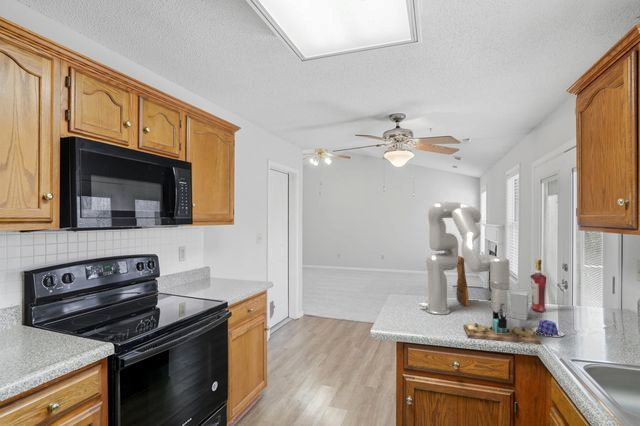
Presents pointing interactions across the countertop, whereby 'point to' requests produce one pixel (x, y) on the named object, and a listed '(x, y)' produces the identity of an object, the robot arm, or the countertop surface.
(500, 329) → the loose gear
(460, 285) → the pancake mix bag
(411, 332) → the countertop surface
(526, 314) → the supplement box
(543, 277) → the liquor
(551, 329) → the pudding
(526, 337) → the gear board
